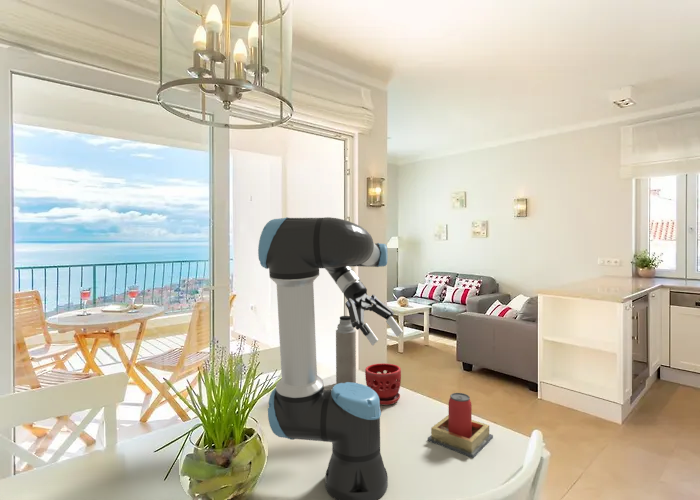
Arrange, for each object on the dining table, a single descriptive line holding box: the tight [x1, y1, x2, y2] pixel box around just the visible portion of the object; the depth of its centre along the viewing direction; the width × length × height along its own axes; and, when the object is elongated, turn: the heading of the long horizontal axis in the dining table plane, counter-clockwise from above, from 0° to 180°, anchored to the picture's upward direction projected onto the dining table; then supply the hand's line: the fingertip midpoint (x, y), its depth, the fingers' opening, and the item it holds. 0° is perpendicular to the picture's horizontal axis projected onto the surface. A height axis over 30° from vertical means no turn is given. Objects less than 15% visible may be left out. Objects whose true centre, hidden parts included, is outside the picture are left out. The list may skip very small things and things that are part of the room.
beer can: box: [448, 392, 473, 439], centre depth 115 cm, size 7×7×12 cm
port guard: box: [427, 414, 494, 459], centre depth 115 cm, size 14×14×4 cm
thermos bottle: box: [335, 315, 357, 385], centre depth 158 cm, size 8×8×28 cm
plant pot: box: [364, 362, 402, 406], centre depth 144 cm, size 13×13×12 cm
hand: (388, 338), depth 124 cm, fingers open, 13 cm apart
